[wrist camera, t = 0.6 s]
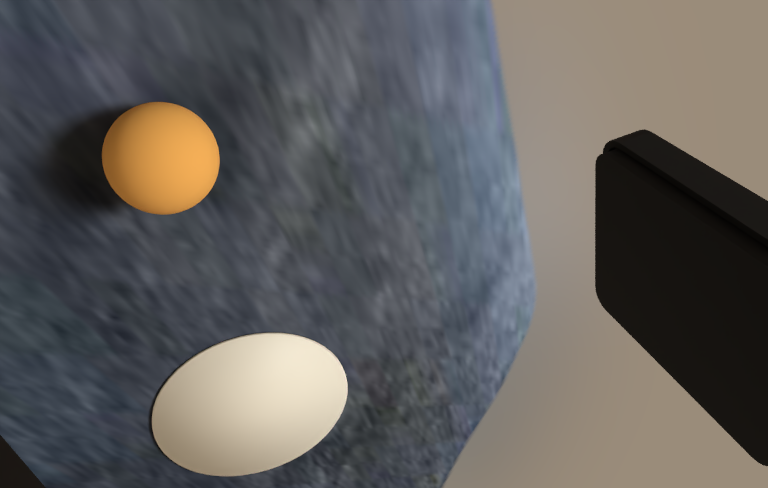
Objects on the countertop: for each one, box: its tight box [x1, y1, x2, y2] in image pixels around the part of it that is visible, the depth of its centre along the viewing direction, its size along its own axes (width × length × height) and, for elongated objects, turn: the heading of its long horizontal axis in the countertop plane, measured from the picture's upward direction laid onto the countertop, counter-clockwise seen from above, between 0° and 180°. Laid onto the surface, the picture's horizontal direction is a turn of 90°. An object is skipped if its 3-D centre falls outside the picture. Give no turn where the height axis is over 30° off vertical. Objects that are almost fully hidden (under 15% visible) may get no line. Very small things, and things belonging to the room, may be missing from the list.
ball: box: [102, 102, 220, 214], centre depth 33 cm, size 6×6×6 cm
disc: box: [152, 332, 347, 476], centre depth 48 cm, size 14×14×1 cm
